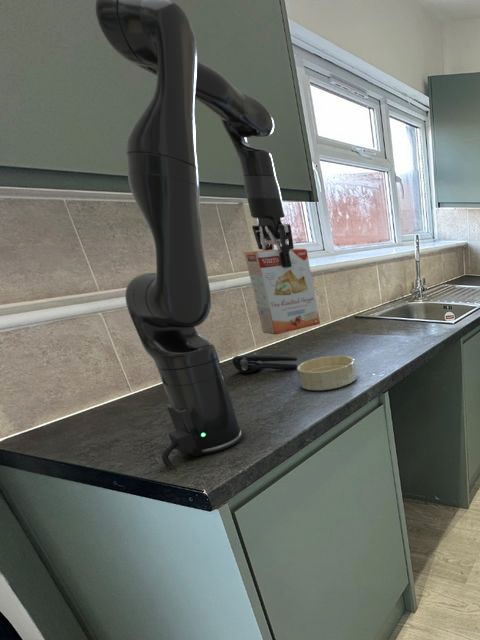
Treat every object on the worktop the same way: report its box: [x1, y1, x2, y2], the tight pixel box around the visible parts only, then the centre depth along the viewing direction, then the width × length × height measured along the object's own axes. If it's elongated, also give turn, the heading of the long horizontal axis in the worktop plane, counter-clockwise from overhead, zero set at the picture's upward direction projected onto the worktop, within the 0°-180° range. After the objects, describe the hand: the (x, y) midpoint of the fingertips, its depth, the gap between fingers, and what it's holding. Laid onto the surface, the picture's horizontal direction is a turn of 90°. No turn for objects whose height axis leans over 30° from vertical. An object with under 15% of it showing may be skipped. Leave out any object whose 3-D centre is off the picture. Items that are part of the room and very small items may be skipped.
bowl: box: [296, 355, 358, 391], centre depth 113 cm, size 14×14×6 cm
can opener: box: [232, 352, 298, 374], centre depth 124 cm, size 18×7×6 cm, turn 98°
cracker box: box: [243, 248, 321, 335], centre depth 111 cm, size 14×6×21 cm, turn 152°
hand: (279, 266), depth 109 cm, fingers closed on cracker box, 6 cm apart
